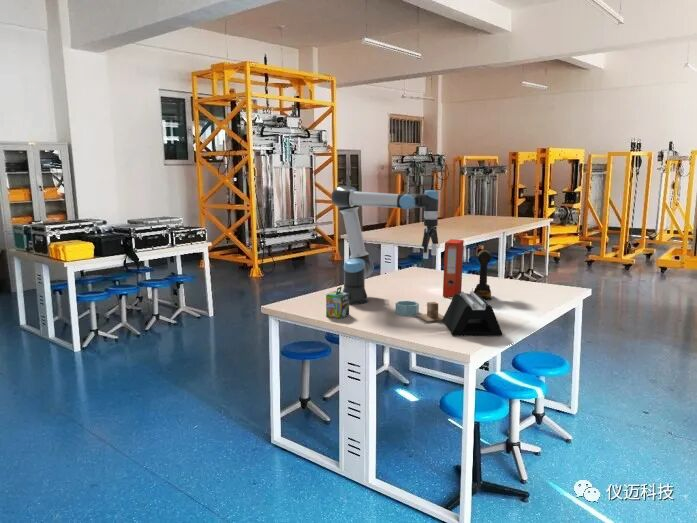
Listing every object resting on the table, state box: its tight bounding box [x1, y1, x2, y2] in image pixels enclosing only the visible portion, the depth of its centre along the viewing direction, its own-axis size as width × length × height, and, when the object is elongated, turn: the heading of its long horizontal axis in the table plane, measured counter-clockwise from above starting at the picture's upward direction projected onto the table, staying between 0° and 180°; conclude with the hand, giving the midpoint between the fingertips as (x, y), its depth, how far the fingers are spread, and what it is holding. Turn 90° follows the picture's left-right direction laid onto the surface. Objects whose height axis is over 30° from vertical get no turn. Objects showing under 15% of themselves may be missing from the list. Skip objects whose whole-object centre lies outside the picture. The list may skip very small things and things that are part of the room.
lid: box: [415, 301, 444, 324], centre depth 277 cm, size 12×12×8 cm
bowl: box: [395, 300, 420, 316], centre depth 289 cm, size 11×11×6 cm
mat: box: [411, 315, 445, 325], centre depth 278 cm, size 15×15×1 cm
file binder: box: [442, 238, 465, 298], centre depth 332 cm, size 8×17×32 cm, turn 159°
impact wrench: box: [472, 249, 492, 300], centre depth 328 cm, size 14×21×28 cm, turn 165°
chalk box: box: [325, 286, 350, 319], centre depth 285 cm, size 9×9×15 cm
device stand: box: [442, 290, 503, 337], centre depth 260 cm, size 22×22×15 cm
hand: (429, 256), depth 313 cm, fingers open, 13 cm apart
